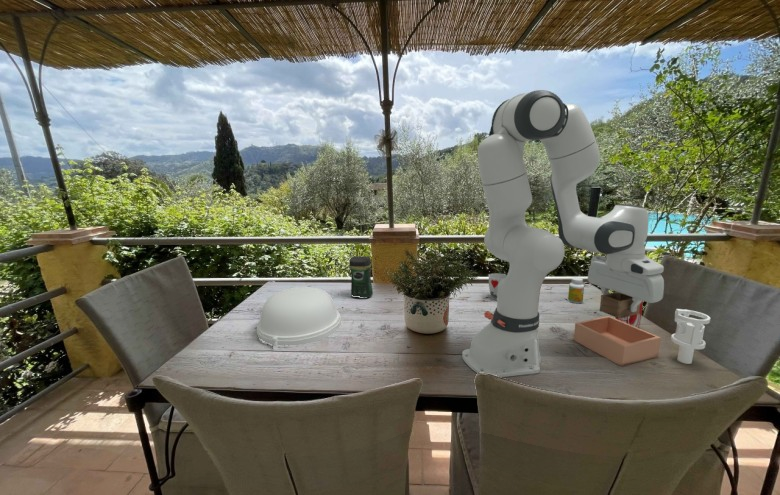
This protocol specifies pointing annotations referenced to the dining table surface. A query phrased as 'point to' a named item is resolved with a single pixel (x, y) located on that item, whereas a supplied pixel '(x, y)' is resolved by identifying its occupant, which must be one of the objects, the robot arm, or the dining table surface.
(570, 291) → the supplement bottle
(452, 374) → the dining table surface
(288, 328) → the dome cover
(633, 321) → the soda can
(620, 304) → the small crate
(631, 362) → the big crate
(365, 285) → the coffee jar
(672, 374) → the dining table surface
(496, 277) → the cup
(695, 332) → the white plastic connector
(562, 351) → the dining table surface
